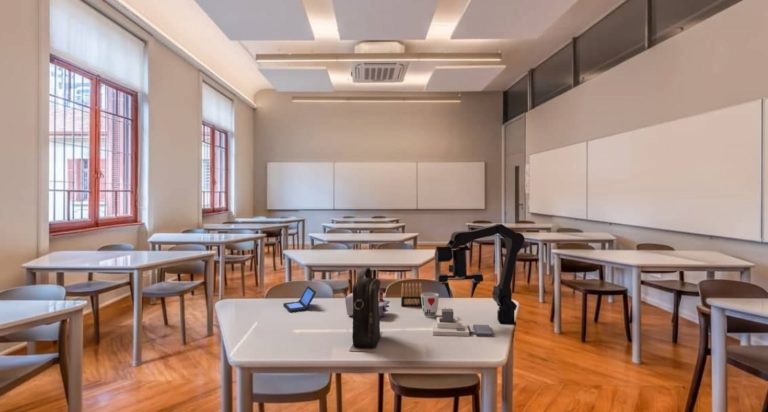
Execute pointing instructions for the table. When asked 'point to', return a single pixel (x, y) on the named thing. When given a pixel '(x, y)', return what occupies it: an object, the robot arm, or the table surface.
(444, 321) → the charger block
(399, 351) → the table surface
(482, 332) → the phone
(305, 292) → the handheld game console
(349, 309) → the cell model
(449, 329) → the outlet plate
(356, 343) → the shoulder bag
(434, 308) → the cup
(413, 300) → the ammunition clip
